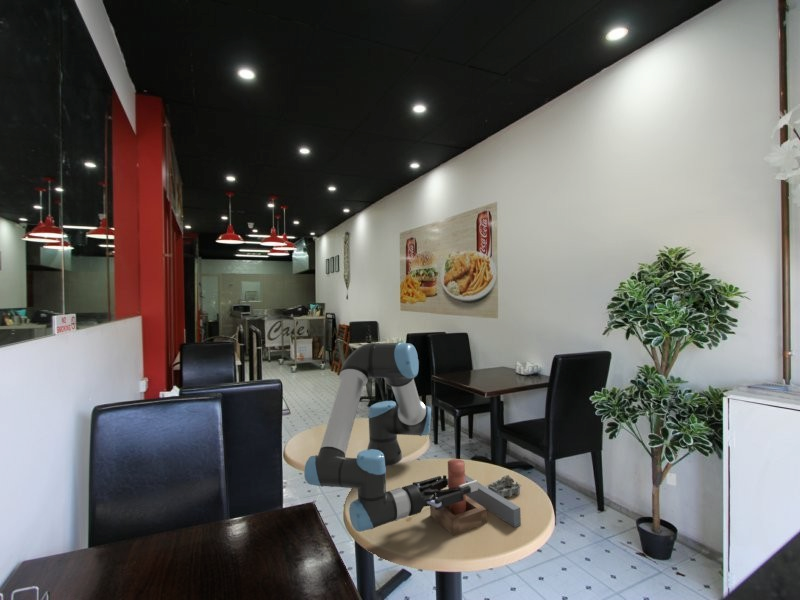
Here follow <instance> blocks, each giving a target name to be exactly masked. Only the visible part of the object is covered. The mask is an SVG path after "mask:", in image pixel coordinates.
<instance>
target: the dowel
mask: <svg viewBox="0 0 800 600" xmlns="http://www.w3.org/2000/svg"><path fill="white" fill-rule="evenodd" d="M465 469H466V467H465V461H464V460H462V459H459V458H458V459H456V458H455V459H449V460H448V461H447V478H448V485H447V487H448V486H449V488H448V489H451V488H458V487H459V485H462V484H465V474H466V473H465V471H466V470H465ZM449 512H451V513H452V514H453V515H458V514H461V513H464V512H466V494H464V500H463V501H460V502H457V503H454V504H451V505H449Z"/></svg>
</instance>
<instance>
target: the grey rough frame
mask: <svg viewBox="0 0 800 600" xmlns="http://www.w3.org/2000/svg"><path fill="white" fill-rule="evenodd" d="M508 486H512V487H508ZM486 487H487V488H488V489H490V490H492V491H493V492H495V493H497V494H498V495H500V496H502V497H503V498H505V497H508V496H509V497H508V498H511V496H512V497H513V495H517V494H518V495H520V493H521V487H522V484H520V483H518V481H516V482H515V480H514V478H512V477H511V476H510V474H508V475H504V476H503V477H501V478H500V479H497V480H496V481H493V482H491V483H490V484H486ZM506 487H508V488H506ZM504 496H505V497H504Z"/></svg>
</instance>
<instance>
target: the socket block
mask: <svg viewBox="0 0 800 600" xmlns="http://www.w3.org/2000/svg"><path fill="white" fill-rule="evenodd" d="M429 510H430V511H429V512H430V513H429V514H430V515H429V516H430V517H431V518H433V519H434V520H435V521H436V522H437V523H438V524H440V525H441V526H442V527H443V528H444V529H445V530H447V531H448V532H449V533H451V534H452V536H455V535H458V534H461V533H464V532H467V531H469V530H472V529H474V528H476V527H479V526H482V525H485V524H487V523H488V517H487V516H488V514H487V511H488V510H487V509H486V508H484V507H483V506H481V505H480V504H478V503H477V502H475V501H474V500H472V499H471V498H469V497H468V496H466V512H464V513H461V514H458V515H453V514H452V513H451V512H449V505H448V506H445V507H442V508H441V509H439V510H435V506H433V505H431V506H429Z"/></svg>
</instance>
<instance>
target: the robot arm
mask: <svg viewBox="0 0 800 600" xmlns="http://www.w3.org/2000/svg"><path fill="white" fill-rule="evenodd" d="M418 358H419V357H418V352H417V350H416V347H415V346H414V345H413V344H412V343H408V342H407V343H406V342H389V343H388V342H385V343H382V342H381V343H377V342H376V343H365V344H363V345H361V346H359V347H358V348H356V349H355V350H354V351H352V352H351V353H350V355H348V357H347V358H346V359H345V361H344V362H343V365H342V367H341V369H340V372H339V376H338V377H339V381H340V383H339V386H338V389H337V392H336V395H335V399H334V402H333V405H332V409H331V412H330V415H329V419H328V423H327V426H326V429H325V432H324V435H323V438H322V442H321V445H320V448H319V451H318V454H317V455H316V454H315V455H311V456H309V457H308V459H307V460H306V462H305V465H304V470H303V471H304V472H303V473H304V474H303V475H304V480H305V481H306V483H307V484H308V485H311V486H317V487H329V488H330V487H333V488H344V489H345V488H347V489H355V490H357V498H356V499H355V500H353V501H351V502H350V504H349V508H348V513H349V520H350V523H351V525H352V527H353V529H354V531H357V532H364V531H367V530H368V531H369V530H373V529H374V528H375V529H376V528H378V527H380V526H383V525H385V524H389V523H392V522H393V523H394V522H395V521H396V522H397V521H399V520H400V519H401V520H402V519H404V518H407V517H411V516H414V515H418V514H421V512H422V511H423V509H424V508H425V507H430V506H431V505H433V506H435V510H439V509H441V508H442V507H445V506H448V505H451V504H454V503H457V502H460V501H463V500H464V494H468V493H470V492H473V491H477V490H478V483H479V482H478V480H477V479H474V480H475V481H471V482H468V483H466V476H467V474H466V473H465V484H462V485H459V487H458V488H451V489H449V486H448V477H447V475H445V474H444V475H442V476H440V475H438V476H433V477H432V478H427V479H424V480H421V481H414V482H412V484H409V485H404V486H403V487H398V488H395V489H391V490H388V491H387V482H386V481H387V480H386V479H387V468H386V466H389V465H394V464H396V463H398V462H401V461H402V458H403V456H402V455H403V454H402V453H403V452H402V449H401V447H400V444H399V441H398V435H399V436H400V435H401V436H419V437H422V436H428V435H430V431H431V423H432V421H431V419H432V407H431V406H428V405H425V404H424V402H423V401H421V400H420V397H419V393H418V390H417V389H418V388H417V386H416V382H415V378H416V377H417V376H418V374H419V365H420V364H419V363H420V361H419V359H418ZM370 378H376V379H378V378H379V379H380V378H381V379H382V378H383V379H384V382H385V383H386V384H387V385H388V386H391V389H392V392H393V395H394V397H395V400H396V401H393V400H385V401H379V402H376V403H374V404H371V406H370V407H369V408H368V417H367V418H368V435H369V437H368V438H369V439H368V445H367V448H366V449H363V450H362V451H360V452H358V453H357V455H356V457H346V454H347V450H348V446H349V442H350V438H351V434H352V431H353V427H354V423H355V419H356V415H357V412H358V408H359V403H360V399H361V396H362V392H363V389H364V387H365V386H366V385H367V383H368V381H369V379H370ZM446 488H447V489H446Z"/></svg>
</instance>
